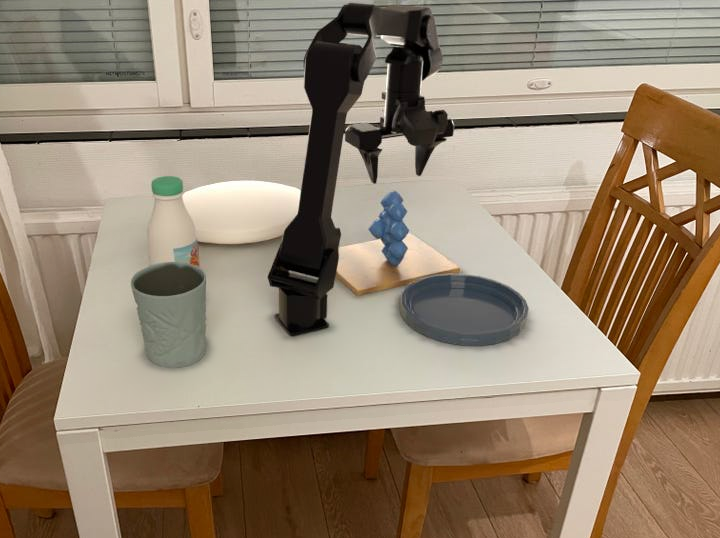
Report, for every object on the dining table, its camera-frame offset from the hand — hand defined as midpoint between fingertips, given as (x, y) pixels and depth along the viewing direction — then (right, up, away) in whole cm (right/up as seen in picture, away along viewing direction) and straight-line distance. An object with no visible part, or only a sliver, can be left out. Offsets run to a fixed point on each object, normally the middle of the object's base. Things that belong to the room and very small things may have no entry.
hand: (396, 179), depth 134 cm
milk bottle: (-37, -23, -12) cm, 45 cm away
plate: (-29, -6, +13) cm, 32 cm away
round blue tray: (+8, -25, -16) cm, 31 cm away
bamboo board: (-2, -15, -2) cm, 16 cm away
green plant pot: (-35, -31, -25) cm, 53 cm away
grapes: (-2, -15, -2) cm, 15 cm away
